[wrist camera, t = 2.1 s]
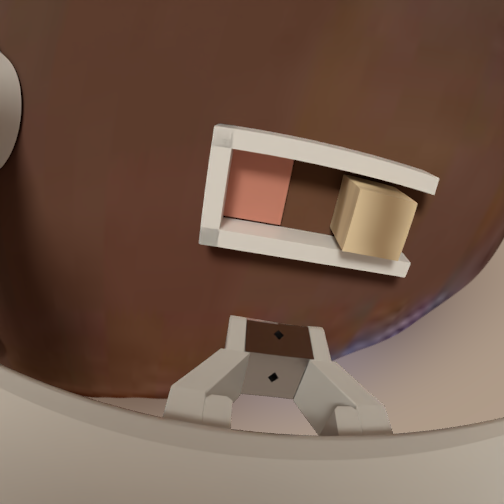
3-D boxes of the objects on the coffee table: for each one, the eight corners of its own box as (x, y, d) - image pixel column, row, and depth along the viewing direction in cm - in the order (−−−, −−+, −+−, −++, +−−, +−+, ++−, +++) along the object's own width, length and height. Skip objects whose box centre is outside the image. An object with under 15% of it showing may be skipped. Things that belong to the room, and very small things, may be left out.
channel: (204, 230, 29) (198, 243, 26) (219, 123, 25) (214, 125, 22) (393, 262, 30) (405, 277, 27) (423, 170, 26) (439, 178, 23)
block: (329, 226, 29) (342, 251, 24) (343, 173, 27) (360, 188, 22) (378, 236, 29) (397, 261, 25) (394, 186, 27) (417, 203, 22)
